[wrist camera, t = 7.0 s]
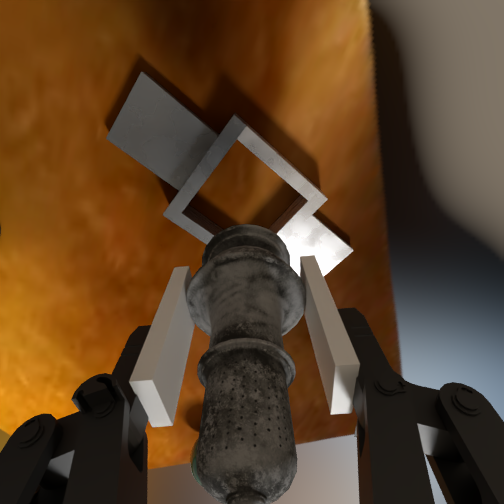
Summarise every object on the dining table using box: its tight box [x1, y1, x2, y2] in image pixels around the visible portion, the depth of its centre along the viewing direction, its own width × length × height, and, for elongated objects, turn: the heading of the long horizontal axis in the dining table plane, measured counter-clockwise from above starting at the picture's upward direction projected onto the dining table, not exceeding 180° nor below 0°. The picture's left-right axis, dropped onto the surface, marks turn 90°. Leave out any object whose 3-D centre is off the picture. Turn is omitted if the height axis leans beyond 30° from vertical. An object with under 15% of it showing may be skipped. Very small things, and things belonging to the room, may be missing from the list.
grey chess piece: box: [186, 224, 306, 504], centre depth 11 cm, size 6×6×12 cm
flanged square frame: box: [106, 71, 354, 276], centre depth 25 cm, size 24×10×2 cm, turn 50°
